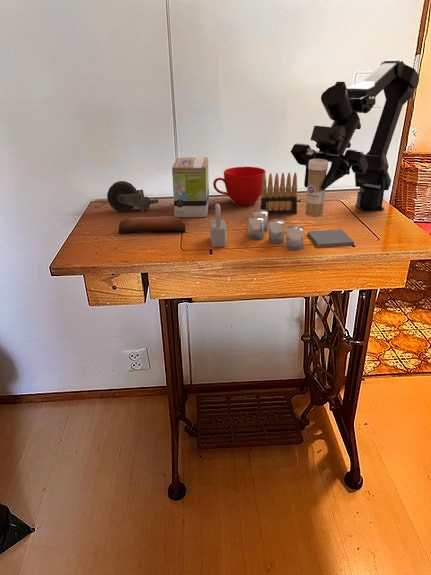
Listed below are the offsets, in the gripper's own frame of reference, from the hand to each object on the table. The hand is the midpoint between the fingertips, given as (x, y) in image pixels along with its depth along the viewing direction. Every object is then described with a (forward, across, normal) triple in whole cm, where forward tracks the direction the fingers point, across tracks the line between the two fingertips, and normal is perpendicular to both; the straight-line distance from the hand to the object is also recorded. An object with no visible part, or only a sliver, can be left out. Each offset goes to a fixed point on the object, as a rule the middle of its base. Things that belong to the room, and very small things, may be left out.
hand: (313, 187), depth 108 cm
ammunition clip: (+1, -18, +18) cm, 26 cm away
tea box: (+11, -41, +8) cm, 43 cm away
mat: (+8, +4, +11) cm, 14 cm away
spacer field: (+13, -7, +5) cm, 16 cm away
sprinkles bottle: (+4, 0, +6) cm, 7 cm away
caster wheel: (+19, -55, 0) cm, 58 cm away
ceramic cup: (+1, -34, +18) cm, 39 cm away
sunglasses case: (+24, -37, -5) cm, 45 cm away
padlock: (+21, -16, -2) cm, 27 cm away
